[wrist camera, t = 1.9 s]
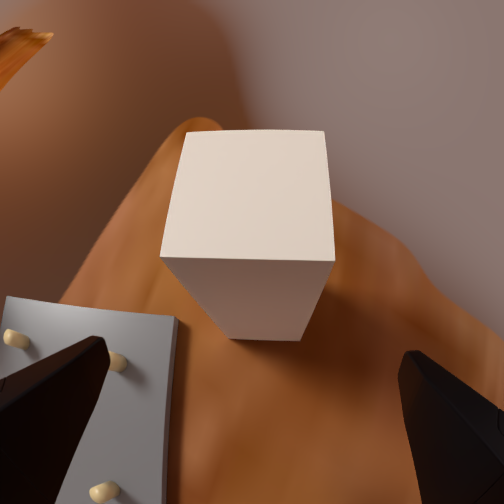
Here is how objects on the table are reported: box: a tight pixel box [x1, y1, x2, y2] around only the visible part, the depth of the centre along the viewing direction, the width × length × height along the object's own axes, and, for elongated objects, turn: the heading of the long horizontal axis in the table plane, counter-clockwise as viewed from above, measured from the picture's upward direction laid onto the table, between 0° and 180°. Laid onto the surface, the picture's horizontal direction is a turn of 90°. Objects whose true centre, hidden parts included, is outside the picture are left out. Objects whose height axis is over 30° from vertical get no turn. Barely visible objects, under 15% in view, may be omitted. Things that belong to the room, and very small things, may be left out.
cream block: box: [160, 130, 335, 341], centre depth 15 cm, size 4×4×13 cm
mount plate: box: [0, 296, 179, 504], centre depth 17 cm, size 16×16×3 cm
